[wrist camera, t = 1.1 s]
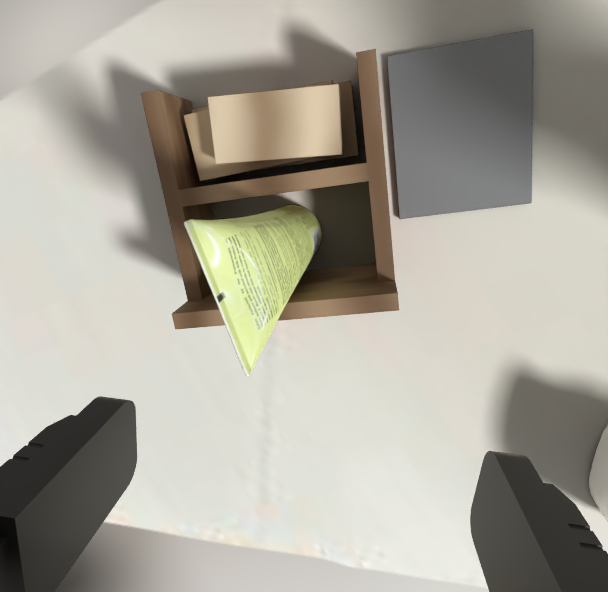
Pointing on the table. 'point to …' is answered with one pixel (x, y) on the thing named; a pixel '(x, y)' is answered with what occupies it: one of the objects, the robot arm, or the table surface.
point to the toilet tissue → (600, 475)
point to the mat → (463, 125)
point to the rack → (198, 195)
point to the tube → (254, 269)
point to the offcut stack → (273, 129)
